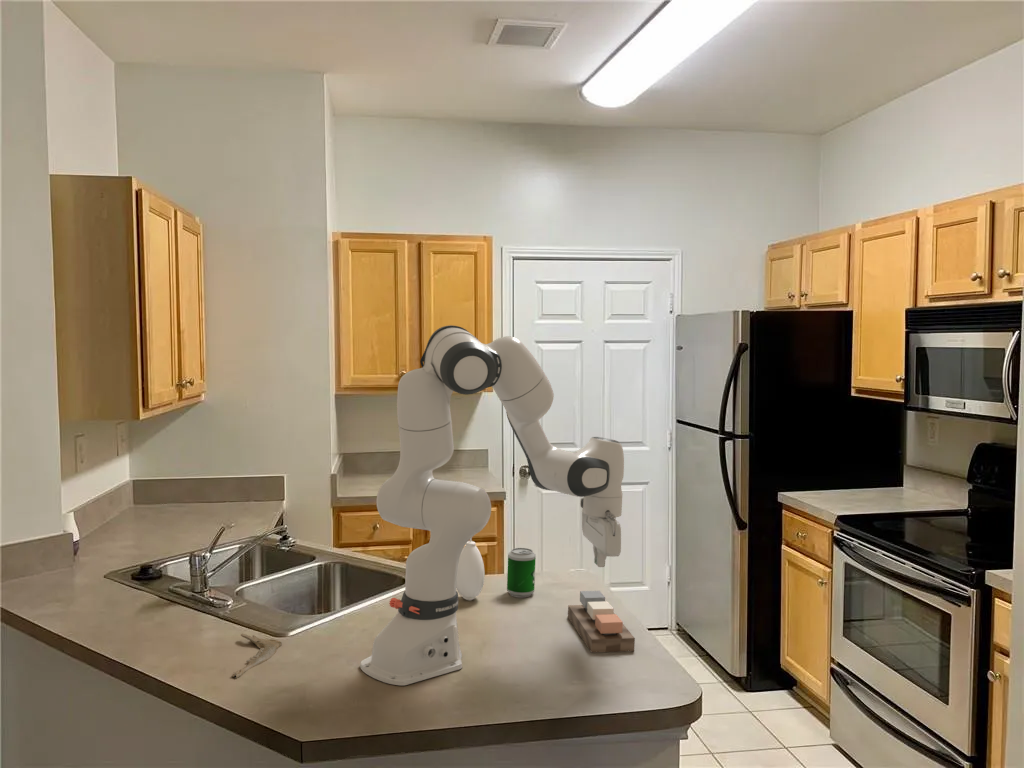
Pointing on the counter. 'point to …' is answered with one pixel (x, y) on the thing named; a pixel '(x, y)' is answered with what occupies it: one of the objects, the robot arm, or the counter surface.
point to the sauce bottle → (470, 572)
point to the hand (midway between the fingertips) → (599, 565)
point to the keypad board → (598, 633)
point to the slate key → (590, 597)
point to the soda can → (521, 572)
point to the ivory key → (599, 609)
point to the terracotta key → (608, 624)
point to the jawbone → (259, 652)
